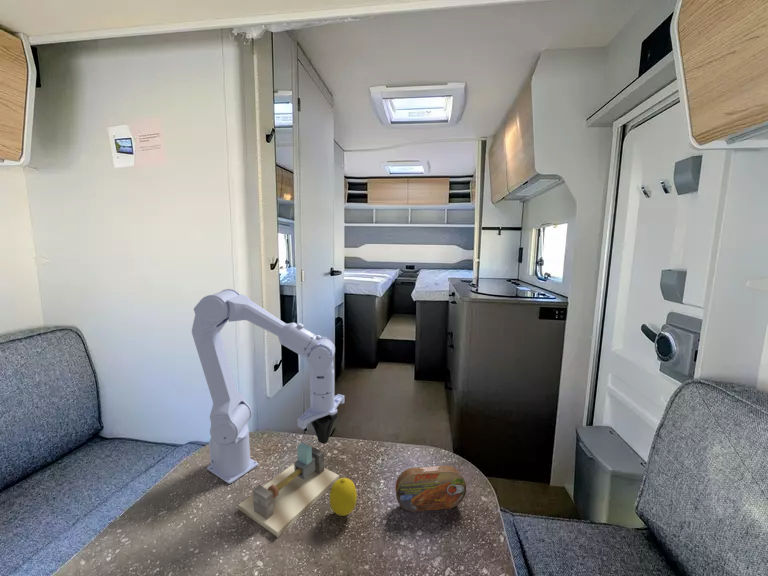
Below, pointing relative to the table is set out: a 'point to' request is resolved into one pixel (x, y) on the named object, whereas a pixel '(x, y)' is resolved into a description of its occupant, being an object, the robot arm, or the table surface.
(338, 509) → the lemon
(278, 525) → the rod and block board
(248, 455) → the robot arm
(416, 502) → the tin
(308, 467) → the sleeve
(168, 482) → the table surface
